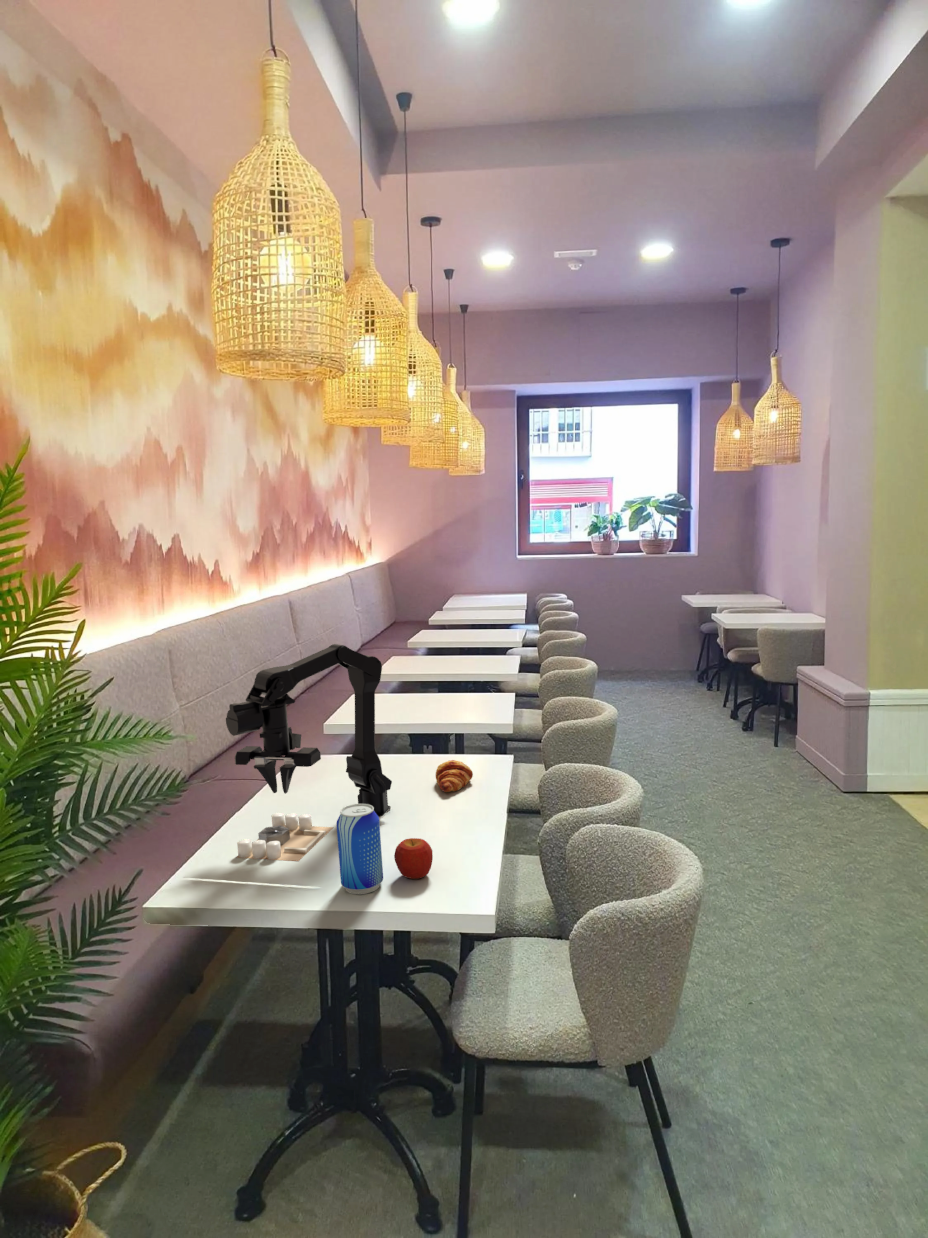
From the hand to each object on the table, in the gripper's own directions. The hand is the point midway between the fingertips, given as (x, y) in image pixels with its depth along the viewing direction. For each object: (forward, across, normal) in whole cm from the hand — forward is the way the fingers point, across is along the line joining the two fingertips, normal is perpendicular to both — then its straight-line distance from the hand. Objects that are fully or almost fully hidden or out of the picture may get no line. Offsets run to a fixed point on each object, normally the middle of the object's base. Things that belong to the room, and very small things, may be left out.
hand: (280, 792), depth 186 cm
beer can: (+12, -26, +18) cm, 34 cm away
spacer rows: (+12, +2, 0) cm, 12 cm away
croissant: (+12, -28, -44) cm, 54 cm away
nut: (+12, +2, 0) cm, 12 cm away
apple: (+12, -35, +12) cm, 39 cm away
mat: (+12, 0, 0) cm, 12 cm away
